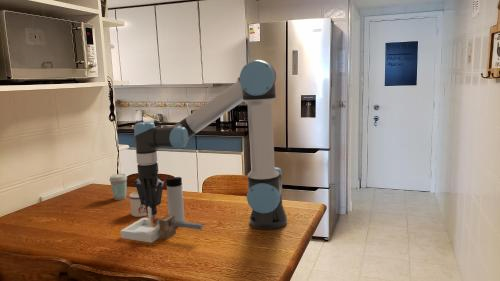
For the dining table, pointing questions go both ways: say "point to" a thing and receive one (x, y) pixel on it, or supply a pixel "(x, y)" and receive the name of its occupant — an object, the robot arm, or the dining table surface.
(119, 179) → the coffee cup
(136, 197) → the teacup with lid
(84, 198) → the dining table surface
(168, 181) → the travel mug
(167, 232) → the pin mount
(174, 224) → the pin
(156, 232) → the tray
